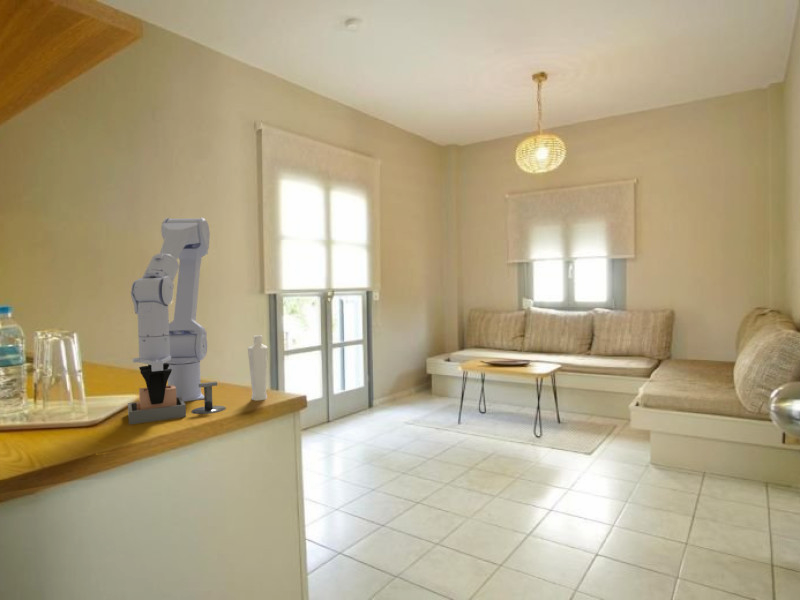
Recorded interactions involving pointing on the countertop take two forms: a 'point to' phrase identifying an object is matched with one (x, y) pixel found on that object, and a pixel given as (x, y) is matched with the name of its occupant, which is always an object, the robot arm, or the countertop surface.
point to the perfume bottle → (258, 368)
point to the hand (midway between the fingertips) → (156, 401)
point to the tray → (156, 412)
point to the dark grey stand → (208, 400)
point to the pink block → (146, 404)
